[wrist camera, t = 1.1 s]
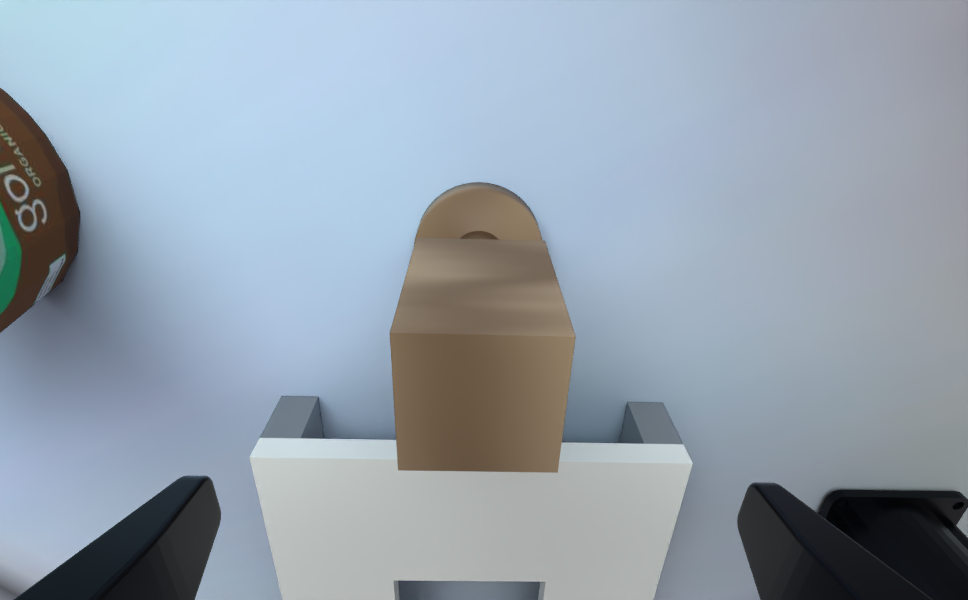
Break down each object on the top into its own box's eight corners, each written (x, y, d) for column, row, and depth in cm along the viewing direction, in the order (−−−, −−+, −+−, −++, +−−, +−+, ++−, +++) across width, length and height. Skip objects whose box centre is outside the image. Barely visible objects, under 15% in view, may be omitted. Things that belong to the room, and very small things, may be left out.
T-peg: (545, 184, 18) (602, 316, 10) (534, 298, 20) (575, 487, 12) (415, 180, 18) (363, 311, 10) (418, 296, 20) (378, 485, 12)
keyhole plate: (662, 402, 22) (692, 463, 19) (599, 668, 32) (613, 738, 28) (281, 396, 22) (249, 457, 19) (330, 667, 31) (314, 738, 28)
